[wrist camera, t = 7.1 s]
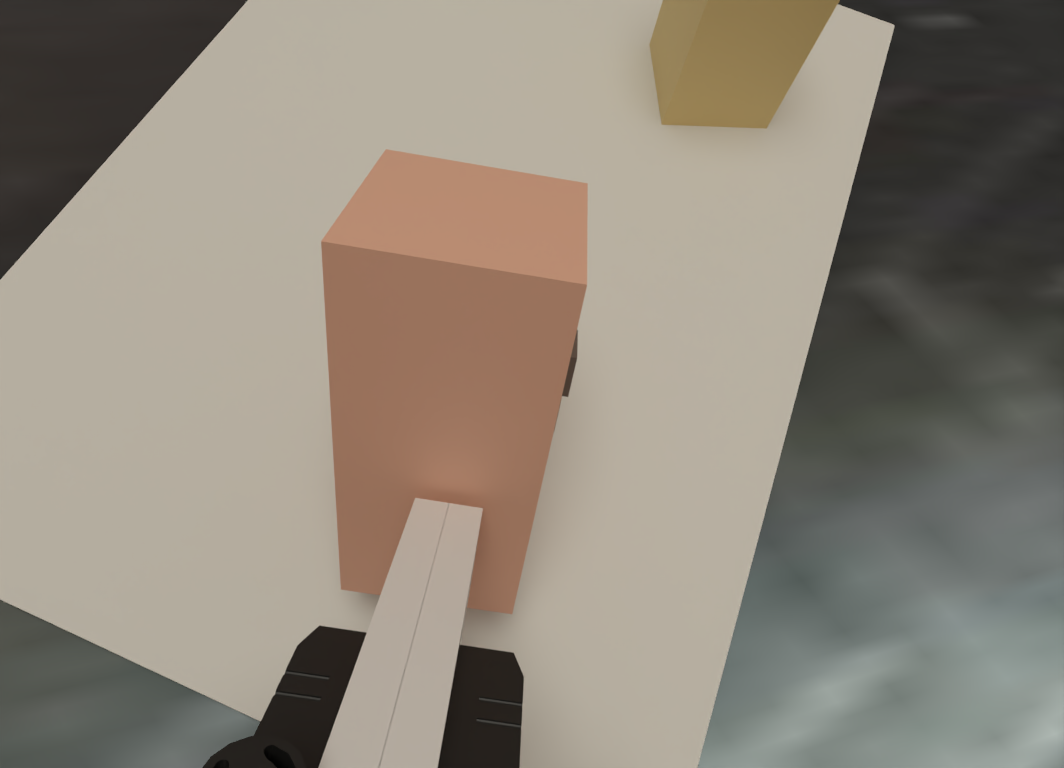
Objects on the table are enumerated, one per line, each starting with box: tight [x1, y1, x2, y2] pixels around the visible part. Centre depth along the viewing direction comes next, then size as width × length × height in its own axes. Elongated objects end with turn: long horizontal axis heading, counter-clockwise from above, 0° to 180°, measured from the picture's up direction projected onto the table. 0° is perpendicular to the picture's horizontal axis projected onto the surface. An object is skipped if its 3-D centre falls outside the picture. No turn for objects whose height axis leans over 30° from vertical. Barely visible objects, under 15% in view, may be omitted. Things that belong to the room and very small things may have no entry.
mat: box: [0, 0, 895, 768], centre depth 25 cm, size 36×26×1 cm
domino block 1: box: [321, 149, 588, 614], centre depth 16 cm, size 4×5×10 cm
